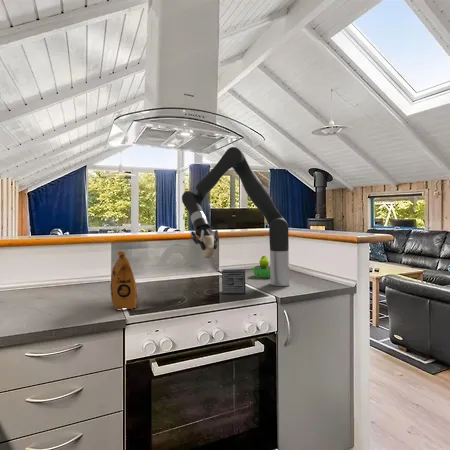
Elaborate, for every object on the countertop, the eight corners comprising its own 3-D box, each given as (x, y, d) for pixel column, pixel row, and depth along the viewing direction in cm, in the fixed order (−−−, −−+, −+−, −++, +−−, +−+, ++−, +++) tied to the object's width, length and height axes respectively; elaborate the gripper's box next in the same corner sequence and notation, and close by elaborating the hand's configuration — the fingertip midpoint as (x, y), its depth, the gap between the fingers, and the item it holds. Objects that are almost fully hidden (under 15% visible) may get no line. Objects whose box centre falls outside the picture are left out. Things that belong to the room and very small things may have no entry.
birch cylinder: (214, 256, 152) (214, 235, 152) (213, 258, 147) (212, 236, 147) (204, 256, 153) (203, 235, 152) (202, 258, 148) (201, 236, 147)
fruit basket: (252, 277, 178) (252, 257, 177) (255, 274, 186) (255, 255, 186) (272, 278, 175) (272, 258, 174) (275, 275, 183) (275, 255, 182)
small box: (245, 290, 150) (245, 268, 149) (245, 294, 143) (245, 271, 142) (223, 290, 151) (223, 268, 150) (221, 294, 144) (221, 271, 144)
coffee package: (110, 312, 121) (108, 255, 120) (111, 303, 133) (109, 251, 132) (138, 309, 124) (136, 253, 123) (136, 301, 136) (134, 249, 135)
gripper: (187, 217, 153) (197, 244, 142) (215, 216, 159) (226, 242, 149) (184, 228, 158) (193, 255, 147) (211, 226, 164) (222, 252, 154)
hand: (210, 248), depth 148 cm, fingers closed on birch cylinder, 5 cm apart
